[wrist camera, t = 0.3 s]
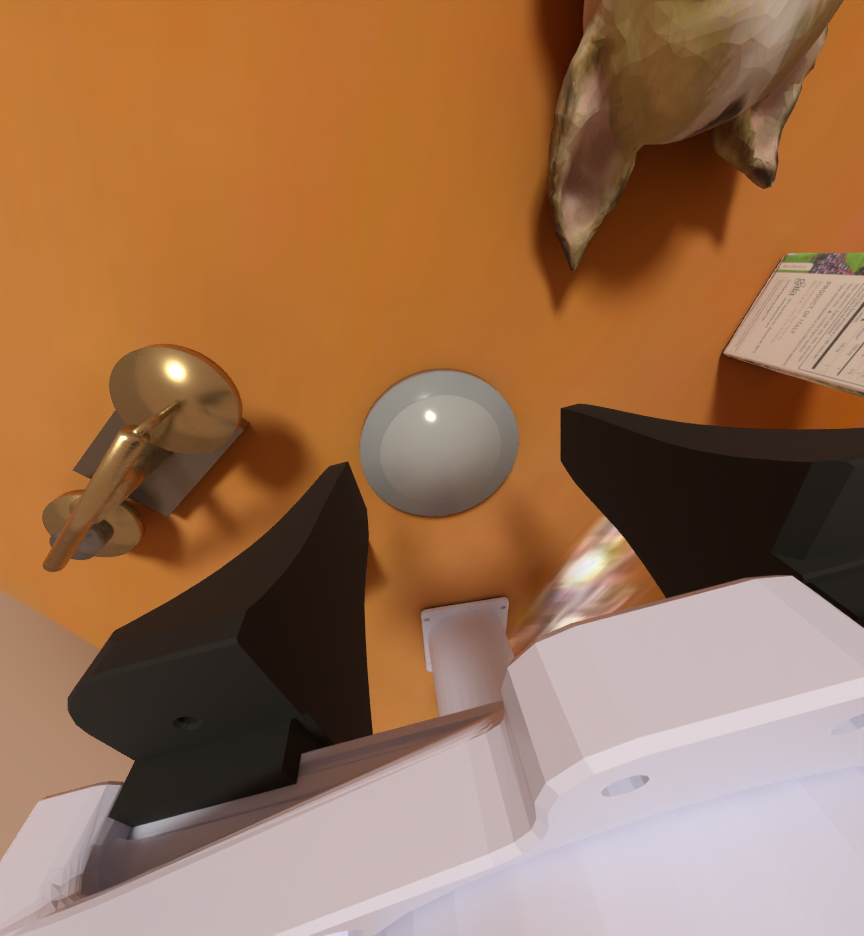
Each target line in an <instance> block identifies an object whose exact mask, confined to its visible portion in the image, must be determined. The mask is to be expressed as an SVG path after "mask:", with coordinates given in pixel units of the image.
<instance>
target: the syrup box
mask: <svg viewBox="0 0 864 936" xmlns="http://www.w3.org/2000/svg"><path fill="white" fill-rule="evenodd" d="M723 354H724V355H725V356H728V357H731V358H735V359H738V360H741V361H744V362H748V363H751V364H754V365H757V366H760V367H763V368H766V369H770V370H773V371H776V372H779V373H782V374H786V375H789V376H793V377H796V378H800V379H803V380H806V381H810V382H813V383H816V384H820V385H823V386H827V387H830V388H833V389H837V390H840V391H844V392H847V393H851V394H854V395H858V396H861V397H864V253H789V254H787V255H786V256H785V257H783V258H782V260H781V261H780V263H779V265H778V266H777V268H776V269H775V271H774V272H773V274H772V275H771V277H770V278H769V280H768V282H767V283H766V285H765V286H764V288H763V289H762V291H761V293H760V294H759V296H758V297H757V299H756V300H755V302H754V303H753V305H752V307H751V308H750V310H749V312H748V313H747V315H746V316H745V318H744V319H743V321H742V323H741V324H740V326H739V328H738V329H737V331H736V332H735V334H734V336H733V337H732V339H731V341H730V342H729V344H728V345H727V347H726V348H725V350H724V352H723Z"/></svg>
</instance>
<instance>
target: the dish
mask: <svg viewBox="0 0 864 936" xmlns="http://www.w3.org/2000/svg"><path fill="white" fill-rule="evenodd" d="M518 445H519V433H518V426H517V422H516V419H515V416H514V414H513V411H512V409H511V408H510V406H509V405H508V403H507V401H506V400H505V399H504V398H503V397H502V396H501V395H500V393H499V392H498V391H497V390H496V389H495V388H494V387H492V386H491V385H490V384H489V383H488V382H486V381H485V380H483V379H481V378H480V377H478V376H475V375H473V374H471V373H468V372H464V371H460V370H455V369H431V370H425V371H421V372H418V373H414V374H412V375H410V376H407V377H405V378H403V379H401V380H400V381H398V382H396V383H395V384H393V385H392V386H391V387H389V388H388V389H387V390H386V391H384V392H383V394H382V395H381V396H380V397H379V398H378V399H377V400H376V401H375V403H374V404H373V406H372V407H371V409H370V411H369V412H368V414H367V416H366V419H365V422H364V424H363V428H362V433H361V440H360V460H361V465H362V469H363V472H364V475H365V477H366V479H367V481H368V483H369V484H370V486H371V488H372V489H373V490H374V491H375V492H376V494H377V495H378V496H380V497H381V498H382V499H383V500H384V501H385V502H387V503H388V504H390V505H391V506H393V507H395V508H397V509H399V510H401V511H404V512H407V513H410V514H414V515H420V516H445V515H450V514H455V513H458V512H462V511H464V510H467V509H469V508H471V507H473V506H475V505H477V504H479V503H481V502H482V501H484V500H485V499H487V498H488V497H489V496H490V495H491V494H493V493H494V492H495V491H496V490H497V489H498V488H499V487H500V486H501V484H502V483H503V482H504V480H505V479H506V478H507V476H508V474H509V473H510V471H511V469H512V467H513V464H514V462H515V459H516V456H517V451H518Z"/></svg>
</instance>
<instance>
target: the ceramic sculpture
mask: <svg viewBox="0 0 864 936" xmlns="http://www.w3.org/2000/svg"><path fill="white" fill-rule="evenodd" d="M843 1H844V0H584V12H583V33H584V35H583V38H582V40H581V42H580V45H579V47H578V49H577V51H576V53H575V55H574V57H573V58H572V60H571V63H570V65H569V67H568V70H567V72H566V75H565V77H564V80H563V84H562V87H561V91H560V94H559V98H558V101H557V104H556V108H555V115H554V126H553V129H552V132H551V140H550V145H549V170H548V178H547V191H548V198H549V201H550V207H551V217H552V221H553V224H554V227H555V231H556V236H557V238H558V240H559V241H560V243H561V246H562V249H563V251H564V254H565V256H566V259H567V261H568V264H569V266H570V269H571V270H572V271H574V270H576V269H577V267H578V265H579V263H580V261H581V258H582V256H583V254H584V251H585V249H586V247H587V244H588V243H589V241H590V240H591V239H592V237H593V236H594V234H595V233H596V231H597V230H598V228H599V227H600V225H601V224H602V222H603V220H604V219H605V218H606V216H607V215H608V214H609V213H610V211H611V210H612V209H613V208H614V206H615V205H616V203H617V201H618V200H619V198H620V196H621V195H622V193H623V191H624V189H625V187H626V185H627V182H628V180H629V178H630V175H631V173H632V171H633V168H634V166H635V159H636V155H637V151H638V150H639V149H640V148H641V147H642V146H644V145H654V144H669V143H674V142H679V141H682V140H684V139H687V138H690V137H692V136H695V135H697V134H700V133H703V132H705V131H707V130H710V134H709V136H710V141H711V144H712V147H713V149H714V152H715V153H716V154H717V155H718V156H720V157H721V158H722V159H724V160H725V161H726V162H728V163H729V164H730V165H732V166H733V167H735V168H736V169H738V170H739V171H741V172H742V173H744V174H745V175H746V176H747V177H748V178H749V179H750V180H751V181H752V182H753V183H754V184H756V185H757V186H759V187H761V188H763V189H765V188H768V187H772V186H773V183H774V180H775V176H776V171H777V166H778V146H779V141H780V137H781V133H782V129H783V127H784V125H785V123H786V121H787V119H788V118H789V116H790V114H791V112H792V110H793V108H794V106H795V104H796V102H797V99H798V97H799V94H800V92H801V89H802V81H803V80H804V78H805V77H806V75H807V74H808V73H809V72H810V71H811V70H812V69H813V68H814V65H815V61H816V58H817V56H818V54H819V53H820V51H821V49H822V47H823V45H824V43H825V40H826V36H827V31H828V23H829V22H830V20H831V19H832V17H833V16H834V14H835V13H836V11H837V10H838V8H839V7H840V5H841V4H842V2H843Z"/></svg>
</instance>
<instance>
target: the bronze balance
mask: <svg viewBox="0 0 864 936" xmlns="http://www.w3.org/2000/svg"><path fill="white" fill-rule="evenodd" d="M109 388H110V395H111V399H112V402H113V404H114V407H115V409H116V410H115V412H114V413H113V414H112V416H111V417H110V419H109V420H108V421H107V423H106V424H105V426H104V427H103V428H102V430H101V431H100V433H99V434H98V435H97V437H96V438H95V440H94V441H93V442H92V444H91V445H90V447H89V448H88V449H87V451H86V452H85V454H84V455H83V456H82V458H81V459H80V461H79V462H78V463H77V465H76V466H75V468H74V469H73V471H75V472H77V473H79V474H82V475H84V476H86V477H88V478H90V479H91V480H90V482H89V484H88V486H87V487H86V489H85V490H74V491H70V492H67V493H64V494H62V495H60V496H59V497H58V498H56V499H55V500H54V501H52V502H51V503H50V504H48V505H47V507H46V508H45V509H44V511H43V516H42V519H43V524H44V526H45V528H46V530H47V531H48V533H49V534H50V535H51V538H50V545H51V547H52V548H51V550H50V552H49V554H48V555H47V557H46V559H45V561H44V562H43V568H44V569H45V570H47V571H50V572H56V571H60V570H62V569H63V568H64V567H65V566H66V565H67V563H68V562H69V560H70V559H75V560H86V559H90V558H92V557H94V556H96V557H114V556H119V555H123V554H125V553H128V552H129V551H131V550H132V549H133V548H134V547H135V546H136V545H137V544H138V543H139V542H140V540H141V539H142V538H143V536H144V533H145V525H144V521H143V519H142V517H141V516H140V514H139V513H138V512H137V511H136V510H135V509H134V508H133V507H132V506H131V505H129V504H128V503H127V502H125V501H124V500H125V499H126V498H127V497H128V498H130V499H132V500H134V501H136V502H138V503H140V504H142V505H144V506H146V507H148V508H150V509H152V510H154V511H156V512H158V513H160V514H162V515H164V516H166V517H168V516H169V515H170V514H171V513H172V512H173V511H174V509H175V508H176V507H177V506H178V505H179V504H180V503H181V501H182V500H183V499H184V498H185V497H186V496H187V495H188V493H189V492H190V491H191V490H192V489H193V488H194V487H195V485H196V484H197V483H198V482H199V481H200V480H201V479H202V477H203V476H204V475H205V474H206V473H207V472H208V471H209V469H210V468H211V467H212V466H213V465H214V464H215V463H216V461H217V460H218V459H219V458H220V457H221V456H222V455H223V453H224V452H225V451H226V450H227V449H228V448H229V447H230V445H231V444H232V443H233V442H234V441H235V440H236V439H237V437H238V436H239V435H240V434H241V433H242V432H243V431H244V429H245V428H246V427H247V426H248V424H249V422H248V421H246V420H245V419H243V418H242V402H241V398H240V395H239V392H238V390H237V388H236V386H235V384H234V383H233V381H232V379H231V378H230V377H229V376H228V374H227V373H226V372H225V371H224V370H223V369H222V368H221V367H220V366H219V365H217V364H216V363H215V362H214V361H212V360H211V359H209V358H208V357H206V356H204V355H203V354H201V353H199V352H197V351H194V350H192V349H189V348H186V347H183V346H178V345H172V344H155V345H150V346H147V347H144V348H141V349H138V350H135V351H133V352H130V353H129V354H127V355H125V356H124V357H123V358H121V359H120V360H119V361H118V362H117V364H116V365H115V367H114V368H113V370H112V373H111V376H110V382H109Z"/></svg>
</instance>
